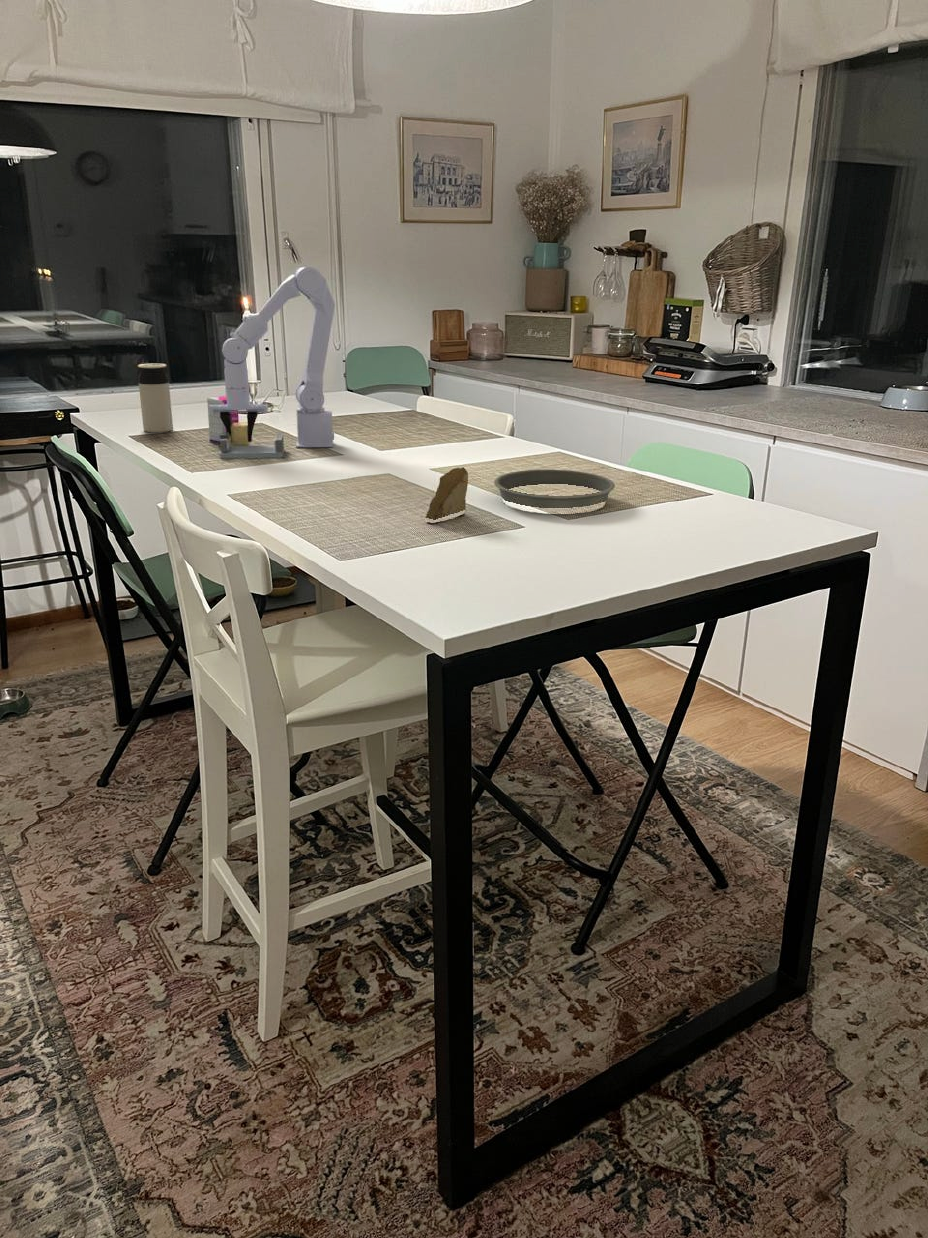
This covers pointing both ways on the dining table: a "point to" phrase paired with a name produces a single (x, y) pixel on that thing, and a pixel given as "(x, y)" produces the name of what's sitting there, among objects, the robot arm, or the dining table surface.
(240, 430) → the brass block
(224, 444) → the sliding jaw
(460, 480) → the rock
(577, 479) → the cake pan
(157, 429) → the travel mug
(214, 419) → the supplement box
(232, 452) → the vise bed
